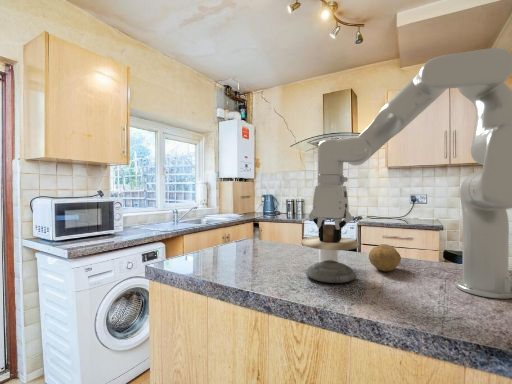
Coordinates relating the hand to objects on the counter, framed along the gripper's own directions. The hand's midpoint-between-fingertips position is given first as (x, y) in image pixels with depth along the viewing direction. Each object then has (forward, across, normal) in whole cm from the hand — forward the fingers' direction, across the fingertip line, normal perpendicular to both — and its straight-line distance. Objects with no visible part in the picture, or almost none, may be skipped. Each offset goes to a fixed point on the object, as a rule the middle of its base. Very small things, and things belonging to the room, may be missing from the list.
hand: (329, 240), depth 88 cm
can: (+12, +7, -14) cm, 19 cm away
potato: (+11, -11, -18) cm, 24 cm away
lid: (+1, 0, 0) cm, 1 cm away
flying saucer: (+12, 0, 0) cm, 12 cm away
